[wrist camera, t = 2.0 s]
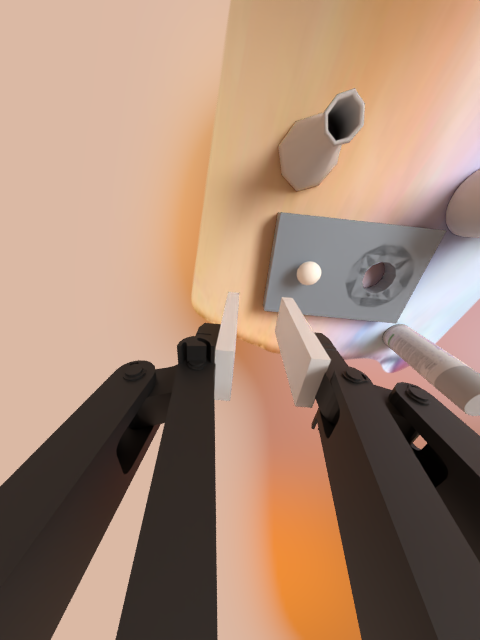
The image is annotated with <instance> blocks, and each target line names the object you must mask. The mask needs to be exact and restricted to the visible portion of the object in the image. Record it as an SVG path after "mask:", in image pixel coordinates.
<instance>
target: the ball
mask: <svg viewBox="0 0 480 640" xmlns="http://www.w3.org/2000/svg"><path fill="white" fill-rule="evenodd" d="M320 276H321V268H320V266H319V265H318V264H317V263H315V262H311V261H309V262H305V263H303V264H302V265H300V267H299V268H298V270H297V278H298V280H299V282H300V283H302V284H304V285H312V284H314V283H316V282H317V281H318V280H319V279H320Z"/></svg>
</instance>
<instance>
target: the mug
mask: <svg viewBox="0 0 480 640" xmlns="http://www.w3.org/2000/svg"><path fill="white" fill-rule="evenodd" d="M446 224H447V227H448V228H449V230H450V231H451V232H452V233H453V234H455V235H458V236H462V237H472V238H480V169H479V170H478V171H476V172H475V173H473V174H472V175H471V176H469V177H468V178H467V179H466V180H465V181H464V182H463V183H462V184H461V185H460V186H459V187H458V189H457V190H456V191H455V193H454V194H453V196H452V198H451V200H450V202H449V204H448V207H447V210H446Z"/></svg>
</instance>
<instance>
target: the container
mask: <svg viewBox="0 0 480 640" xmlns="http://www.w3.org/2000/svg"><path fill="white" fill-rule="evenodd" d="M383 341H384V343H385V344H386V345H387V346H388V347H390V348H391V349H392V350H393V351H394V352H395V353H396V354H398V355H399V356H400V357H401V358H402V359H403V360H404V361H405V362H407V363H408V364H409V365H410V366H411V367H412V368H414V369H415V370H416V371H417V372H418V373H419V374H420V375H421V376H423V377H424V378H425V379H426V380H427V381H428V382H429V383H430V384H432V385H433V386H434V387H435V388H436V389H438V390H439V391H440V392H441V393H442V394H444V395H445V396H446V397H447V398H448V399H450V400H451V401H452V402H453V403H454V404H455V405H457V406H458V407H459V408H460V409H461V410H463V411H464V412H465V413H466V414H468V415H471V416H480V374H479V373H478V372H476V371H475V370H473V369H472V368H470V367H469V366H467V365H466V364H465V363H463V362H462V361H460V360H458V359H457V358H456V357H454V356H452V355H451V354H449V353H448V352H446V351H445V350H443V349H442V348H440V347H439V346H437V345H436V344H434V343H433V342H431V341H429V340H428V339H426V338H425V337H423V336H422V335H420V334H419V333H417V332H416V331H414V330H413V329H411V328H410V327H408V326H406V325H403V324H398V325H394V326H392V327H390V328H389V329H388V330H387V331H386V332H385V333H384V335H383Z"/></svg>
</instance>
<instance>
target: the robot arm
mask: <svg viewBox="0 0 480 640" xmlns="http://www.w3.org/2000/svg"><path fill="white" fill-rule="evenodd" d="M238 305H239V293H236V292H228V295H227V300H226V304H225V309H224V313H223V317H222V322H221V324H210V323H204V324H203V325H202V326H200V327H199V329H198V331H197V334H196V336H192V337H188V338H185V339H183V340H182V341H180V342H179V344H178V345H177V352H178V365H175V366H173V367H168V368H162V369H155V366H154V365H153V364H152V363H150V362H148V361H133V362H129V363H127V364H125V365H123V366H121V367H120V368H118V369H117V370H116V371H115V372H114V373H113V374H112V375H111V376H110V377H109V378H108V379H107V380H106V381H105V382H104V383H103V384H102V385H101V386H100V387H99V388H98V389H97V390H96V391H95V392H94V393H93V394H92V395H91V396H90V397H89V398H88V399H87V400H86V401H85V402H84V403H83V404H82V405H81V406H80V407H79V408H78V409H77V410H76V411H75V412H74V413H73V414H72V415H71V416H70V417H69V418H68V419H67V420H66V421H65V422H64V423H63V424H62V425H61V426H60V427H59V428H58V429H57V430H56V431H55V432H54V433H53V434H52V435H51V436H50V437H49V438H48V439H47V440H46V441H45V442H44V443H43V444H42V445H41V446H40V447H39V448H38V449H37V450H36V452H34V453H33V454H32V455H31V456H30V457H29V458H28V459H27V460H26V461H25V462H24V463H23V464H22V465H21V466H20V468H19V469H17V470H16V471H15V472H14V474H13V475H11V477H9V479H7V480H6V481H5V482H4V483H3V485H1V486H0V640H51V638H52V636H53V634H54V632H55V630H56V628H57V626H58V624H59V622H60V620H61V618H62V616H63V614H64V612H65V610H66V608H67V606H68V604H69V602H70V600H71V598H72V597H73V595H74V593H75V590H76V589H77V587H78V585H79V583H80V581H81V579H82V577H83V575H84V573H85V571H86V569H87V567H88V565H89V563H90V561H91V559H92V557H93V555H94V553H95V552H96V549H97V547H98V546H99V544H100V542H101V540H102V538H103V536H104V534H105V532H106V530H107V528H108V526H109V524H110V522H111V520H112V518H113V516H114V514H115V512H116V510H117V508H118V506H119V504H120V503H121V501H122V499H123V497H124V495H125V493H126V491H127V489H128V486H129V485H130V483H131V481H132V479H133V477H134V475H135V473H136V471H137V469H138V467H139V465H140V463H141V461H142V460H143V458H144V456H145V454H146V452H147V450H148V448H149V446H150V444H151V442H152V440H153V438H154V436H155V434H156V432H157V430H158V428H159V426H160V424H162V423H165V425H164V429H163V434H162V438H161V442H160V447H159V451H158V456H157V460H156V464H155V469H154V473H153V478H152V482H151V486H150V491H149V495H148V500H147V504H146V508H145V513H144V517H143V521H142V526H141V530H140V535H139V539H138V544H137V548H136V553H135V557H134V561H133V566H132V570H131V574H130V579H129V584H128V588H127V592H126V596H125V601H124V605H123V609H122V614H121V618H120V623H119V627H118V631H117V636H116V640H217V578H216V577H217V575H216V570H217V569H216V501H215V500H216V499H215V497H216V495H215V494H216V491H215V420H214V418H215V417H214V416H215V414H214V400H226V401H230V396H231V387H232V378H233V368H234V357H235V348H236V333H237V319H238ZM275 334H276V337H277V341H278V345H279V348H280V352H281V356H282V359H283V363H284V367H285V370H286V374H287V378H288V381H289V385H290V388H291V393H292V396H293V400H294V404H295V406H298V407H310V408H312V406H313V404H314V401H315V399H316V401H317V403H318V406H319V408H318V411H317V413H316V415H315V417H314V420H313V422H312V429H314V428H315V426H316V424H317V423H318V427H319V428H318V430H319V433H320V437H321V442H322V447H323V452H324V457H325V462H326V467H327V472H328V477H329V481H330V486H331V491H332V496H333V501H334V506H335V511H336V515H337V520H338V526H339V530H340V535H341V540H342V545H343V550H344V555H345V560H346V565H347V569H348V574H349V579H350V584H351V589H352V594H353V599H354V604H355V609H356V613H357V619H358V623H359V628H360V633H361V638H362V640H480V436H479V435H478V434H477V433H475V432H474V431H473V430H472V429H471V428H470V427H469V426H467V425H466V424H465V423H464V422H463V421H462V420H460V419H459V418H458V417H457V416H456V415H454V414H453V413H452V412H451V411H450V410H449V409H447V408H446V407H445V406H444V405H443V404H442V403H441V402H439V401H438V400H437V399H436V398H435V397H434V396H432V395H431V394H429V393H428V392H427V391H425V390H423V389H421V388H420V387H418V386H416V385H413V384H409V383H404V382H401V383H397V384H396V385H395V387H394V388H393V390H389V389H386V388H383V387H380V386H376V385H373V383H372V382H371V380H370V379H369V378H368V377H367V376H366V375H365V374H364V373H362V372H361V371H359V370H357V369H355V368H352V367H349V366H348V365H347V364H346V363H345V361H344V359H343V358H342V357H341V355H340V354H339V352H338V351H336V348H335V347H334V346H333V344H332V342H331V341H330V340H329V338H327V337H326V336H325V335H323V334H322V333H314V332H313V330H312V328H311V327H310V325H309V324H308V322H307V320H306V319H305V317H304V315H303V314H302V312H301V311H300V309H299V307H298V306H297V304H296V302H295V301H294V299H293V298H287V297H282V299H281V303H280V308H279V313H278V318H277V323H276V327H275ZM419 435H421V436H422V437H423V438H424V440H425V441H426V442H427V444H426V446H425V447H424V448H423V449H419V448H417V447H416V446H415V445H414V444H413V442H414V441H415V439H416V438H417V437H418V436H419Z"/></svg>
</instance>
